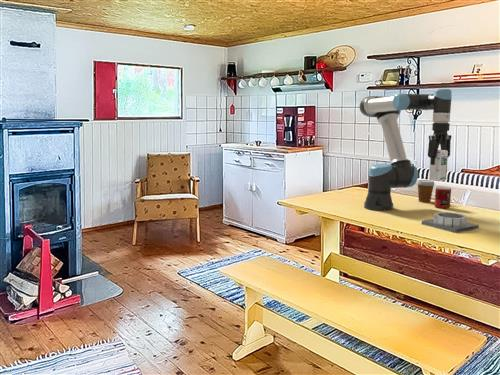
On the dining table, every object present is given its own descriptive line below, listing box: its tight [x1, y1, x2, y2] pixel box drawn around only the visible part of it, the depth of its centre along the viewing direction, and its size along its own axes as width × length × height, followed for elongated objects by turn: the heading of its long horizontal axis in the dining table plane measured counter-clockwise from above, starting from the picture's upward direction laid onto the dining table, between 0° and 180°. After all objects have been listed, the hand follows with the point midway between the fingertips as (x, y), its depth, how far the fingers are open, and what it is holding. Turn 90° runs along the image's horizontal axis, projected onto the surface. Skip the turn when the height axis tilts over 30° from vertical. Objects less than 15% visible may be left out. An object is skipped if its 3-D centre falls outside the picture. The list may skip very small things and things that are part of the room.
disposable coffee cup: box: [416, 179, 435, 204], centre depth 272 cm, size 10×10×12 cm
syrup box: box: [428, 149, 449, 182], centre depth 227 cm, size 6×6×14 cm
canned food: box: [434, 186, 452, 210], centre depth 256 cm, size 8×8×11 cm
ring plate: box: [421, 211, 480, 233], centre depth 216 cm, size 18×16×5 cm
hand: (438, 171), depth 228 cm, fingers closed on syrup box, 6 cm apart
